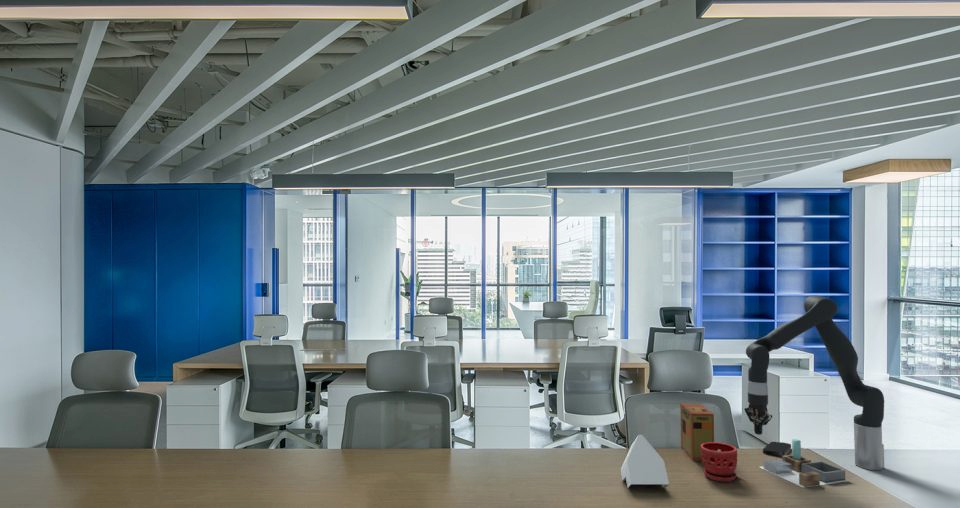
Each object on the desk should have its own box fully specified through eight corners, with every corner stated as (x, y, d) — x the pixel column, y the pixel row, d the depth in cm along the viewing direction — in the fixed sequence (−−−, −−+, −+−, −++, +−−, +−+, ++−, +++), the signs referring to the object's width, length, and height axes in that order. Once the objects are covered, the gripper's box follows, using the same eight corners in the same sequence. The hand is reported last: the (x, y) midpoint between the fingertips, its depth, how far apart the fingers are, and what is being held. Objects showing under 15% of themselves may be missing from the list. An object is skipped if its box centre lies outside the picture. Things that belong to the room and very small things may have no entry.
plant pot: (737, 474, 202) (736, 443, 202) (738, 486, 190) (737, 454, 190) (701, 468, 207) (700, 439, 208) (700, 480, 195) (700, 449, 196)
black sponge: (783, 461, 216) (783, 452, 216) (761, 456, 222) (761, 448, 222) (792, 451, 228) (792, 443, 228) (771, 447, 234) (771, 439, 234)
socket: (796, 463, 209) (795, 454, 209) (811, 470, 202) (811, 460, 203) (782, 465, 207) (782, 455, 207) (797, 472, 201) (797, 461, 201)
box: (681, 447, 233) (680, 403, 233) (701, 448, 232) (700, 403, 233) (692, 460, 216) (691, 413, 217) (714, 461, 215) (713, 414, 216)
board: (800, 464, 212) (800, 461, 212) (848, 484, 192) (848, 481, 192) (758, 469, 206) (758, 466, 206) (803, 490, 186) (803, 487, 186)
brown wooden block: (814, 482, 191) (813, 471, 191) (819, 484, 188) (819, 473, 189) (799, 484, 189) (799, 473, 189) (804, 486, 187) (804, 475, 187)
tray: (821, 470, 202) (821, 461, 203) (845, 480, 193) (845, 470, 193) (801, 472, 200) (801, 463, 200) (824, 482, 190) (824, 473, 190)
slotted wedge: (660, 492, 193) (650, 444, 204) (669, 484, 184) (658, 434, 195) (624, 492, 193) (616, 444, 204) (631, 484, 184) (622, 434, 195)
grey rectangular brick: (779, 466, 206) (779, 459, 206) (792, 472, 200) (792, 464, 201) (763, 468, 204) (763, 461, 204) (776, 474, 198) (775, 466, 198)
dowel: (796, 466, 207) (795, 438, 207) (802, 468, 204) (802, 441, 204) (790, 466, 206) (790, 439, 206) (797, 469, 203) (796, 441, 203)
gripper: (778, 395, 207) (778, 438, 206) (752, 388, 220) (753, 428, 219) (763, 396, 205) (763, 439, 204) (738, 389, 218) (738, 430, 217)
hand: (758, 433), depth 212 cm, fingers closed
